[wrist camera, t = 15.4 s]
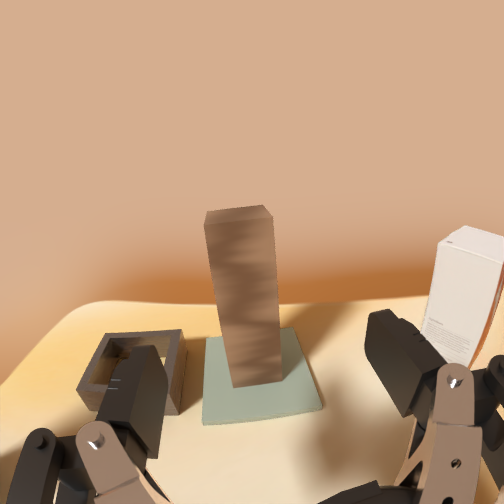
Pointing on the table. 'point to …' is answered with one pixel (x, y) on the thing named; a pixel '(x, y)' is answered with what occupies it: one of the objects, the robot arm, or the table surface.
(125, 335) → the holder
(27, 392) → the table surface
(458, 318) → the small box
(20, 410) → the table surface
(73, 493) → the robot arm
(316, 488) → the table surface
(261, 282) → the walnut post
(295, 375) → the mat
